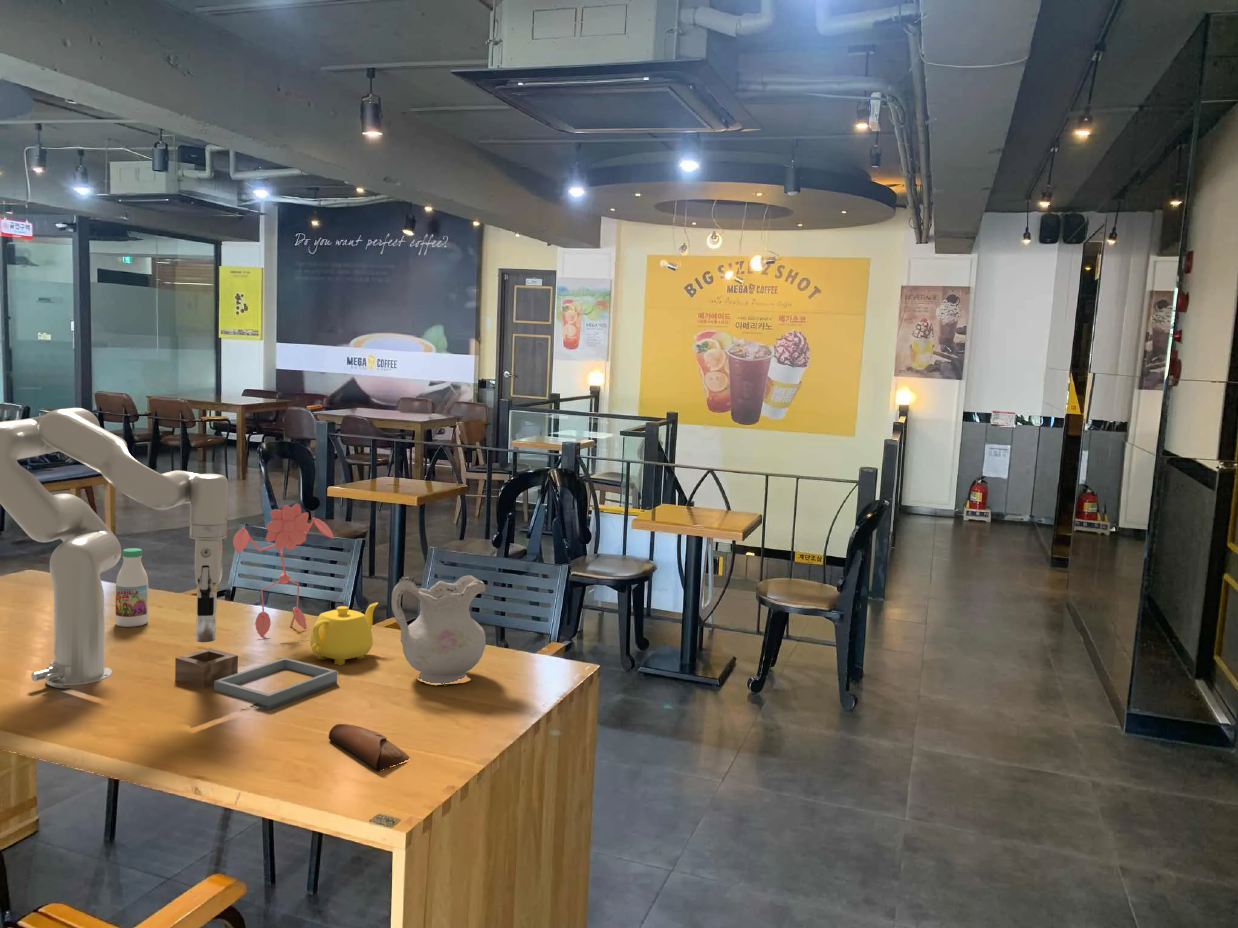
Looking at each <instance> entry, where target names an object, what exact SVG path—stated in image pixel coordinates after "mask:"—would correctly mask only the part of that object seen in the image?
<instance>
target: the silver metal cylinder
mask: <svg viewBox="0 0 1238 928" xmlns="http://www.w3.org/2000/svg"><path fill="white" fill-rule="evenodd" d="M201 583H202V581H201ZM208 583H211V581H208ZM196 588H197V589H196V609H197V608H198V597H199V585H198V584H196ZM208 588H210V586H208ZM217 594H218V585H216V583H213V597H214V613H213V615H212V616H198V615H197V614H196V621H195V622H196V623H195V624H196V627H195V641H196V642H200V643H210V642H214V641H216V636H217V602H218V601H217V600H218V599H217V598H218V597H217V596H218V595H217Z"/></svg>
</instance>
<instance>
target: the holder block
mask: <svg viewBox="0 0 1238 928" xmlns="http://www.w3.org/2000/svg"><path fill="white" fill-rule="evenodd" d="M238 660H239V655H238V654H235V653H230V652H226V651H223V650H218V649H215V648H211V647H208V648H205V649H202V650H199V651H195V652H191V653H188V654H185V655H181V656H178V657H175V667H174V669H175V670H174V671H175V673H174V674H175V676H174V679H175V681H176V682H180V683H183V684H186V685H190V686H195V687H197V688H201V689H207V688H209V687H212V686H213V687H214V681H215V680H218V679H222V678H225V677H228V676H231V675H234V674H237V673H239V672H238V671H239V670H238V667H239V661H238Z"/></svg>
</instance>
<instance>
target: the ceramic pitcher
mask: <svg viewBox="0 0 1238 928" xmlns="http://www.w3.org/2000/svg"><path fill="white" fill-rule="evenodd" d="M415 579H416V577H415V576H413V575H410V576H401V578H399V580H398V582H397V583H396V585H395V586H394V587H393V590H392V592H391V610H392V612H393V615H394V619H395V621H396V623H397V624H398V626H399V627H400V642H401V645H402V651H403V655H404V657H405V660H406V662H407V663H408V664H409V665H410V667H412V668H413V669H415V670H416V671H418V672H420V673H419V674H418V675H419V677H418V678H419V679H422V680H423V681H426V682H430V683H441V684H443V683H444V684H445V683H450V682H454V681H457V680H458V679H462V678H464V677H465V675H467V674H466V672H469V671H472V669H474V667H476V665H477V664H478V663H479V662H480V660H481V659H482V657H483V654H484V652H485V650H486V646H487V645H486V644H487V643H486V636H487V635H486V632H485V630H484V628H483V627H482V625H480V624H479V623H478V622H477V621H476V620H474V619H473V618H472V616H471V613H470V605H471V603H472V601H473V600H474V599H475V597H477V595H478V594H481V593H483V592H485V591H486V584H485V582H483V580H480V579H479V578H477V577H474V576H473V575H464V576H461V577H460V578H458V579H457V580H456V581H455V582H453V583H451V582H445V581H444V580H439V581H437V582H436V583H435V584H434V585H432V586H431V587H430V588H428V589H426V588H423V587H421V588H418V587H417V585H416V583H415ZM405 592H408V593H409V592H410V593H411V594H413V595H414V597H416V598H417V599H418V601H419V606H420V607H419V608H420V611H419V615H418V616H417V617H416V619H415V620H414V621H412V622H411V623H410V624H408V623H407V620H406V616H405V614H404V613H405V612H404V610H403V609H402V606H401V603H402V596H403V594H404V593H405Z"/></svg>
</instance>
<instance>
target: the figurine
mask: <svg viewBox="0 0 1238 928" xmlns="http://www.w3.org/2000/svg"><path fill="white" fill-rule="evenodd" d="M269 515H270V517H271V519H272V520H270V521H269V522H268V523H267V525H266V526H265V528H266V529H265V530H266V531H267V533H266V536H265V541H266V542H268V543H270V542H274V544H271V545H269V546H266V547H263V548H260V547H259V546H258V545H257V543H256V542H255V541H254V539H253V538H252V537H251V536H250V534H249V532H248V530H247V529H246V528H245V527H241V529H238V530H237V532H236V533H235V535H234V537H233V539H232V542H233V544H232V545H233V547H234V549H235V551H236V553H238V554H240V553H241V552H242V551H243V550H245V549H246V548H247V546H248V544H249V542H250V541H251V543H252V545H253V546H254V547H255V548H256V549H257V550H258V552H263V551H265V550H269V549H272V548H274V547H275V548H276V551H280V559H281V565H282V571H283V572H282V573H281V574H280V575H279V576H278V580H277V581H275V582H273V583H271V584H269V585H267V586H265V587H263V588H261V590H260V594H261V595H260V596H261V607H262V611H261V612H259V613H258V614H257V616H256V619H255V621H254V624H255V625H254V626H255V630H256V631H257V633H258V635H259V637H260V638H263V637H264V636H266V634H268V632H269V630H270V627H271V617H270V615H269V613H268V612H266V611H265V607H264V593H263V592H264V591H263V590H266V589H269V588H270V587H272V586H274V585H276V584H278V583H281V584H283V585H285V584H287V583H289V582H291V583H293V584H295V585H297V588H296V589H297V591H296V592H297V594H296V606H293V608H292V615H293V616H292V619H291V623H290V626H289V627H290V628H293V625H294V622H296V623H297V624H298V625H299V626H300V627H301V628H303V629H304V630H305V629H306V630H307V620H306V617H305V615H304V613H303V611H302V610H301V609H300V608H299V596H300V595H299V593H300V591H299V590H300V584H299V583H298V582H295V581H294V580H291V579H290V575H289V574H288V573H286V567H285V560H284V553H283V552H284V551H283V549H284V548H286V549H287V550H290V551H292V550H294V549H295V548H296V546H297V545H299V546H300V545H302V544H303V543H305V542H306V541H307V535H308V533H309V532H310V529H311V527H312V526H313V524H314V525H315V527H316V528H317V530H318V531H319V532H320V533H322V535H324V536H325V537H328V538H330V539H332V540H333V539H335V537H334V535H333V532H332V530H331V528H330V527H329V526H328V524H327V523H325V522H324V521H323V520H321V519H320V518H316V517H312V520H311V522H310V523H309V522H308V520H309V517H310V516H309V512H307V511H306V512H305V511H304V512H303V513H302V508H301V504H299V503H295V504H294V505H293V506H292V507H291V506H290V505H287V504H284V505H282V508H281V509H277V508H276V509H272V510H271V511H270V513H269ZM235 635H237V633H235ZM283 644H284V645H287V644H289V642H284V643H279V645H283ZM292 644H295V643H294V642H292Z"/></svg>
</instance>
